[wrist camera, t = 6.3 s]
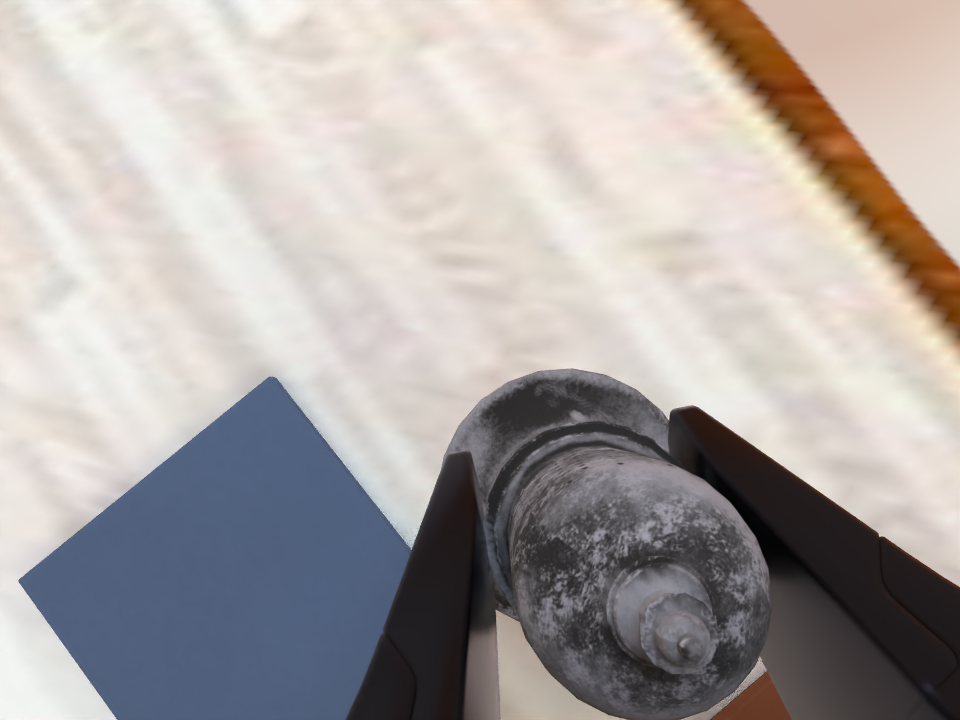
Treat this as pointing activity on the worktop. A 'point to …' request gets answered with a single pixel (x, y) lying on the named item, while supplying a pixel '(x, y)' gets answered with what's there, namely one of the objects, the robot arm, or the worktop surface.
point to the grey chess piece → (614, 547)
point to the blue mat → (229, 577)
